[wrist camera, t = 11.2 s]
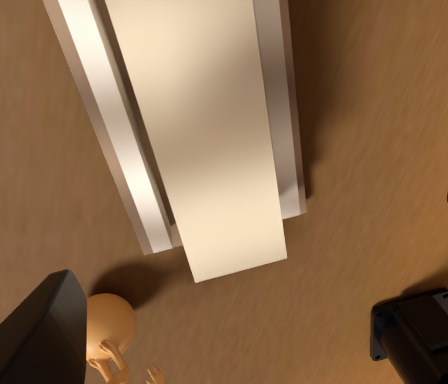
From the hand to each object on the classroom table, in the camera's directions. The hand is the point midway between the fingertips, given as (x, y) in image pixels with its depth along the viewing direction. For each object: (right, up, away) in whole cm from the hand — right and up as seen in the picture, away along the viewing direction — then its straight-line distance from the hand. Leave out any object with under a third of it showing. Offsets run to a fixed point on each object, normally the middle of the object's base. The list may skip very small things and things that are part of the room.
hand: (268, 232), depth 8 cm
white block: (-2, +6, +9) cm, 11 cm away
